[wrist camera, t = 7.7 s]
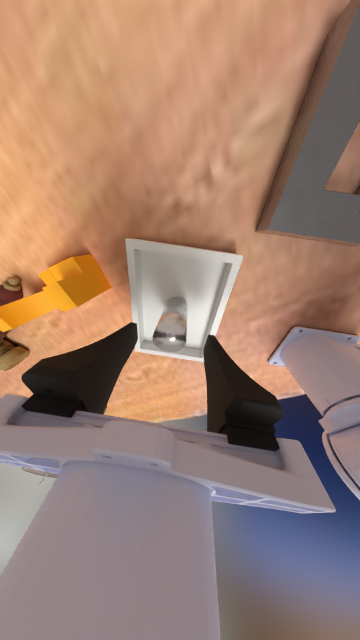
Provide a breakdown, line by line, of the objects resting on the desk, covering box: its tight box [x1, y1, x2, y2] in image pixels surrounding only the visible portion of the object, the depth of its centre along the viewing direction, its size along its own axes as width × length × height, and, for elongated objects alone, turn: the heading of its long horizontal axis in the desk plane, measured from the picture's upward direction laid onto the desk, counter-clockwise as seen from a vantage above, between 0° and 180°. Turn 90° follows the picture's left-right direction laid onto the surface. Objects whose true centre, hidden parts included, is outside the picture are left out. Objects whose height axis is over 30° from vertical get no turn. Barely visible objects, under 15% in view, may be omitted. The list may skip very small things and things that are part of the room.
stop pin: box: [153, 297, 188, 352], centre depth 15 cm, size 3×3×7 cm
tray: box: [125, 238, 244, 362], centre depth 17 cm, size 12×16×2 cm
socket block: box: [256, 0, 360, 246], centre depth 9 cm, size 10×10×2 cm
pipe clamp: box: [0, 254, 112, 332], centre depth 16 cm, size 12×4×6 cm, turn 109°
